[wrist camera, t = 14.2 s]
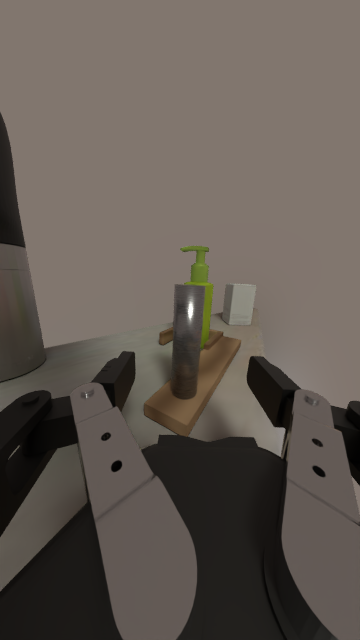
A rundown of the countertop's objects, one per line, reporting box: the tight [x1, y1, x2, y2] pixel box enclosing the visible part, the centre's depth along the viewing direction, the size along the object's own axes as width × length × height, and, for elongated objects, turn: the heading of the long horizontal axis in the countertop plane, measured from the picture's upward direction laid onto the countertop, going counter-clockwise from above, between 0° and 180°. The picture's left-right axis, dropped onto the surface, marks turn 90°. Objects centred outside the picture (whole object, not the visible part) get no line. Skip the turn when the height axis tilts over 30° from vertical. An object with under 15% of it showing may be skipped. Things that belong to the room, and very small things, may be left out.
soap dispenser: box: [181, 246, 213, 349], centre depth 35 cm, size 6×7×20 cm
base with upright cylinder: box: [144, 284, 241, 437], centre depth 28 cm, size 15×25×14 cm, turn 150°
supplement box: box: [222, 284, 256, 325], centre depth 55 cm, size 7×7×13 cm
